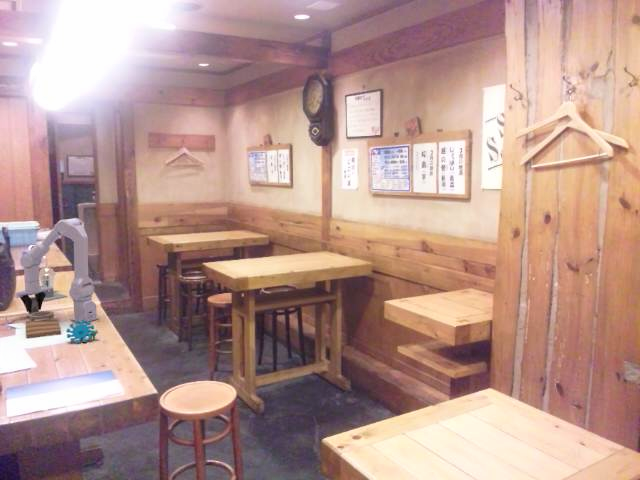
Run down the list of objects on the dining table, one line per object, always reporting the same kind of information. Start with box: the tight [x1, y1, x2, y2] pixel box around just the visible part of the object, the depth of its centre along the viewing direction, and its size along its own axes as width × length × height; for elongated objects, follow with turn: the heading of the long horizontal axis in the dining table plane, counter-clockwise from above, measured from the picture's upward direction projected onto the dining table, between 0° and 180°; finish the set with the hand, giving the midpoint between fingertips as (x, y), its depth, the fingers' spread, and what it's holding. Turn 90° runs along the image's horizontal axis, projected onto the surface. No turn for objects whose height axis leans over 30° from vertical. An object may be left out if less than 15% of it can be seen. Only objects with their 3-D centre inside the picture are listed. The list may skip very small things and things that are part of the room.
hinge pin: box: [28, 296, 40, 315], centre depth 238 cm, size 4×4×8 cm
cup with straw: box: [39, 256, 57, 288], centre depth 280 cm, size 8×9×20 cm
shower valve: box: [31, 285, 68, 302], centre depth 272 cm, size 12×6×15 cm
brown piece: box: [25, 310, 62, 339], centre depth 223 cm, size 29×12×3 cm, turn 29°
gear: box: [66, 319, 99, 344], centre depth 206 cm, size 11×6×10 cm
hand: (33, 310), depth 238 cm, fingers closed on hinge pin, 4 cm apart
